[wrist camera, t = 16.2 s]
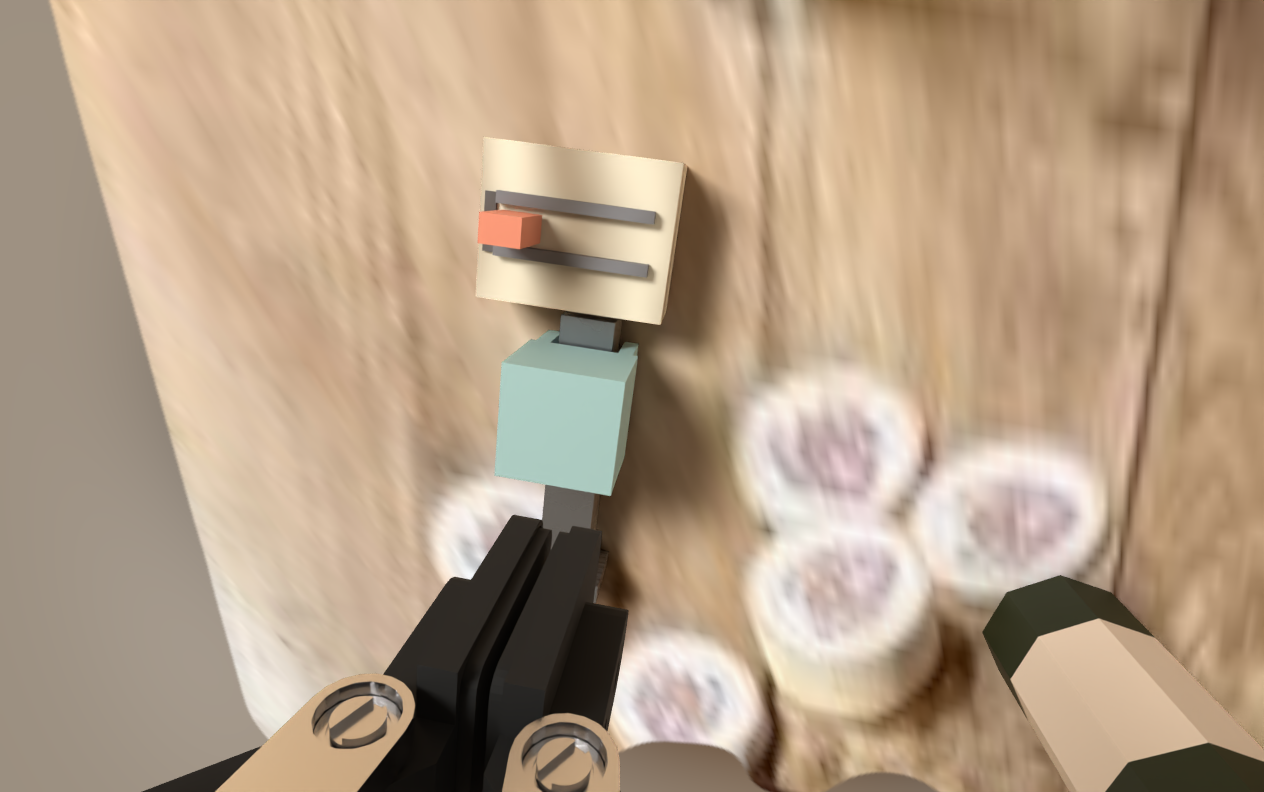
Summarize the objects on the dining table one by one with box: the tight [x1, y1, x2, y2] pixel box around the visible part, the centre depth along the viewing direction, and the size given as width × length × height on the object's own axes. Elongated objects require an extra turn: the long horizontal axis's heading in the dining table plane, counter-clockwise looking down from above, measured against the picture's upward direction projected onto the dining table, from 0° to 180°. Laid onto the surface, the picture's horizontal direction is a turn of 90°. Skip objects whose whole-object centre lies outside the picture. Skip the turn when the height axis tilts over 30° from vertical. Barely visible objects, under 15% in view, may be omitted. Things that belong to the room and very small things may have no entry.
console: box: [476, 137, 687, 325], centre depth 34 cm, size 10×8×5 cm
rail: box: [542, 311, 622, 603], centre depth 38 cm, size 5×17×4 cm, turn 173°
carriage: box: [495, 330, 639, 496], centre depth 35 cm, size 6×6×8 cm
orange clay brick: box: [478, 210, 542, 249], centre depth 31 cm, size 2×1×4 cm
